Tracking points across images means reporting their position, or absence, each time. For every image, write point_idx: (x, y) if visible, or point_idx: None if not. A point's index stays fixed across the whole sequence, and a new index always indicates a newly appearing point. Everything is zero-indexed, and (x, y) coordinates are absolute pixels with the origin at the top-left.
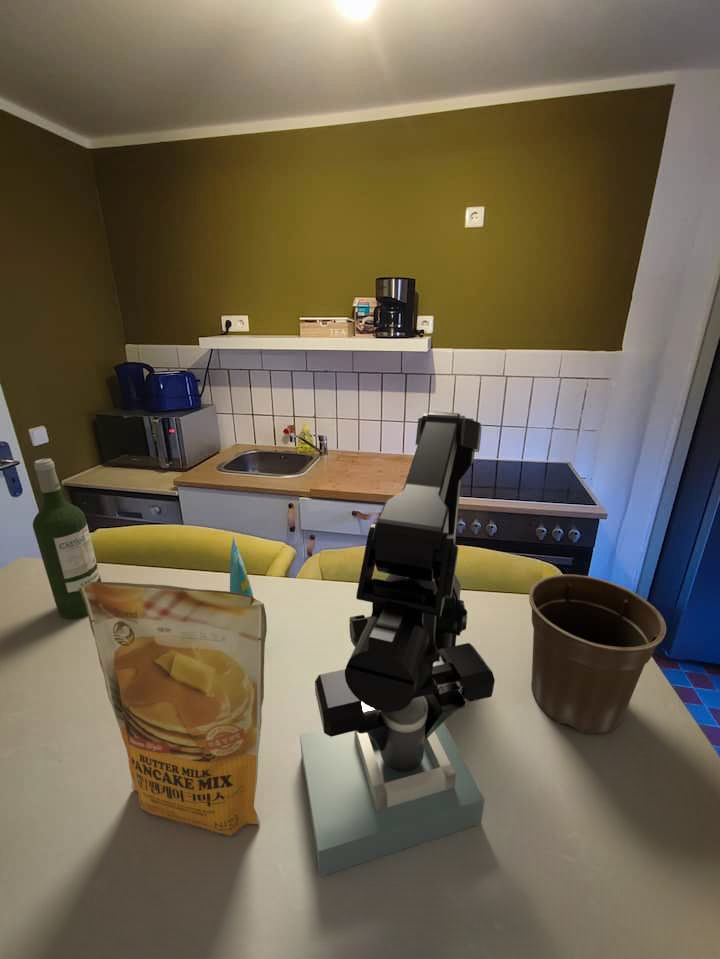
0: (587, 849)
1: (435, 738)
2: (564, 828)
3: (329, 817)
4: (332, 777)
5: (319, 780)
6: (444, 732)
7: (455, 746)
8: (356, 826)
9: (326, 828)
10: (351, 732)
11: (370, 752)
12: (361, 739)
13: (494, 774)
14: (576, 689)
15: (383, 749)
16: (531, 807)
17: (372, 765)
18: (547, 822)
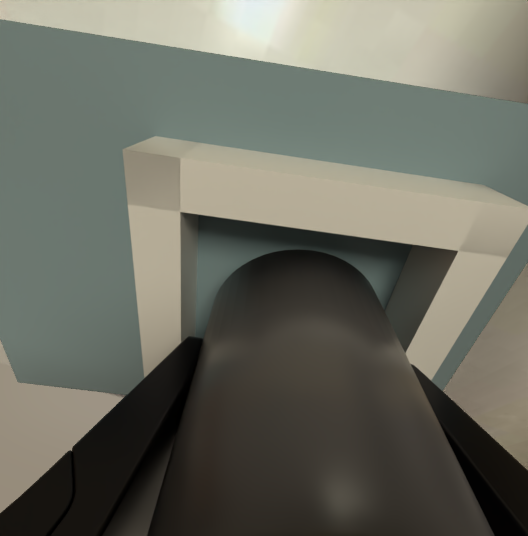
0: (502, 432)
1: (437, 354)
2: (507, 409)
3: (42, 341)
4: (49, 257)
5: (2, 253)
6: (501, 272)
7: (482, 324)
8: (110, 375)
9: (34, 357)
10: (143, 112)
11: (167, 308)
12: (141, 248)
13: (506, 310)
14: None
15: None
16: (498, 374)
17: (161, 346)
18: (494, 396)
